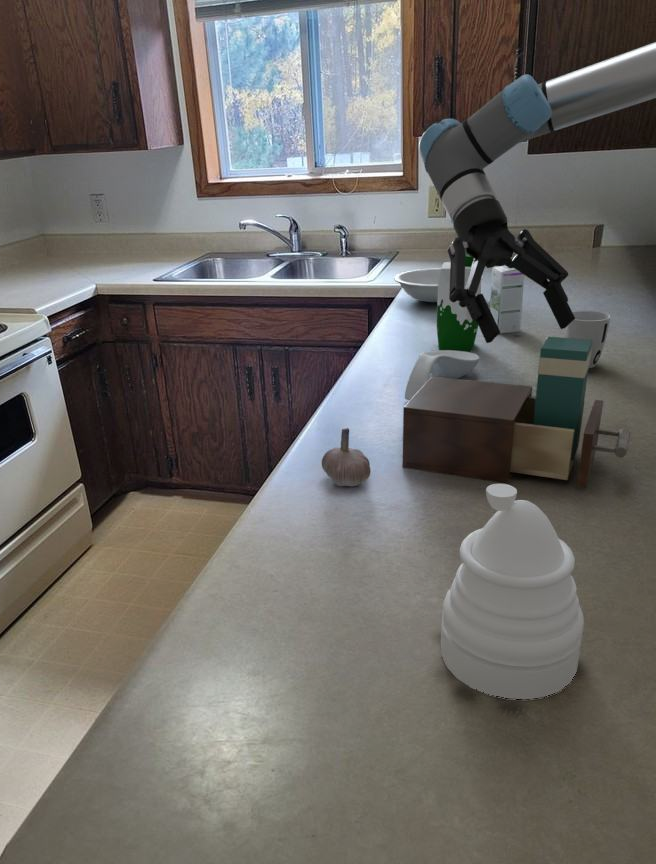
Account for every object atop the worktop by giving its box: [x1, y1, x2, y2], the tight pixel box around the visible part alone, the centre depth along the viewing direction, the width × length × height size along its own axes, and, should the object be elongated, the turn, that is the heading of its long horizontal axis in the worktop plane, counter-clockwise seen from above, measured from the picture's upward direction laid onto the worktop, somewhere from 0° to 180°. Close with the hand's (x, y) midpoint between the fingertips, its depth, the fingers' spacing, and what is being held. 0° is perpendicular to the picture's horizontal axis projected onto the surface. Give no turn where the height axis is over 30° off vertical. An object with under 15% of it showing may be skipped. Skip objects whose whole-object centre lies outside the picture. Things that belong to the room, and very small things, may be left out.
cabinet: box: [401, 376, 533, 484], centre depth 111 cm, size 16×15×10 cm
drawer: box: [510, 395, 631, 488], centre depth 106 cm, size 19×13×8 cm
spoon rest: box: [404, 349, 481, 401], centre depth 142 cm, size 24×12×7 cm, turn 152°
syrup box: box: [489, 265, 525, 334], centre depth 172 cm, size 6×6×14 cm
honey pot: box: [440, 483, 585, 701], centre depth 68 cm, size 13×13×18 cm
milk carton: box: [436, 253, 482, 353], centre depth 160 cm, size 9×9×20 cm
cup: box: [565, 310, 611, 369], centre depth 147 cm, size 8×8×10 cm
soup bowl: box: [393, 267, 484, 303], centre depth 204 cm, size 24×24×7 cm
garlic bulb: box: [321, 427, 371, 487], centre depth 106 cm, size 8×7×8 cm
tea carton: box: [533, 336, 592, 461], centre depth 105 cm, size 6×6×16 cm
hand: (531, 330), depth 107 cm, fingers open, 13 cm apart
